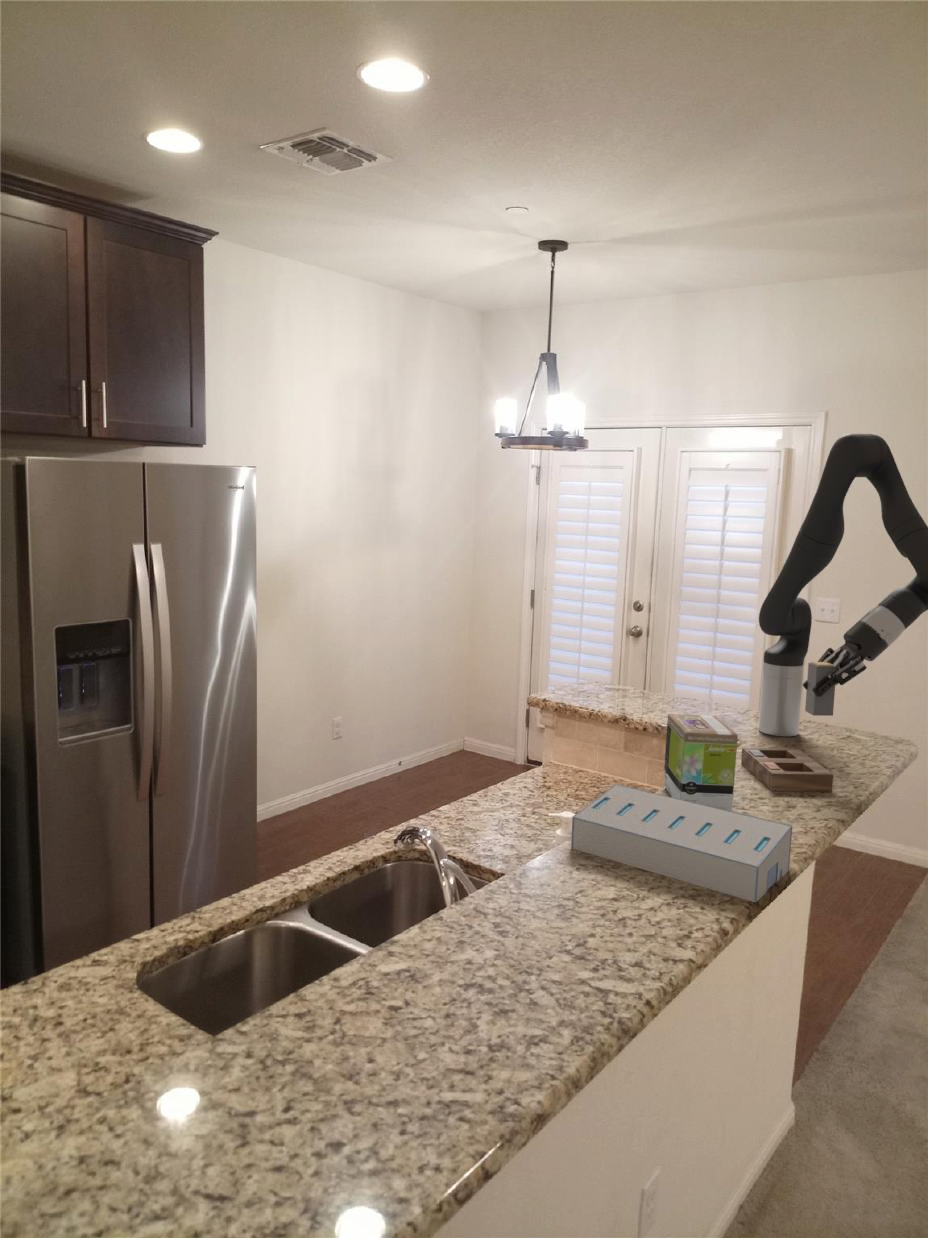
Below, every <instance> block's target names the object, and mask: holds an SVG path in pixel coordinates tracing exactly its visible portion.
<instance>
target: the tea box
mask: <svg viewBox="0 0 928 1238" xmlns="http://www.w3.org/2000/svg"><path fill="white" fill-rule="evenodd" d="M738 739H739V737H738V734H737V732H736V731H735V730H734V729H732V728H731V727H730V726H729V725H728V724H727V723H725V722H724V721H723V720H722V719H720V717H718V716H717V715H705V714H704V715H703V714H701V715H700V714H699V715H698V714H678V713H677V714H674V713H673V714H671V713H668V714H667V724H666V738H665V755H664V770H663V787H664V788H665V789H666V790H667V792H668V794H669V795H670V797H674V798H678V799H682V800H686V801H690V802H695V803H699V804H703V805H707V806H712V807H716V808H720V809H724V810H728V811H733V801H734V787H735V776H736V763H737V752H738Z"/></svg>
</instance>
